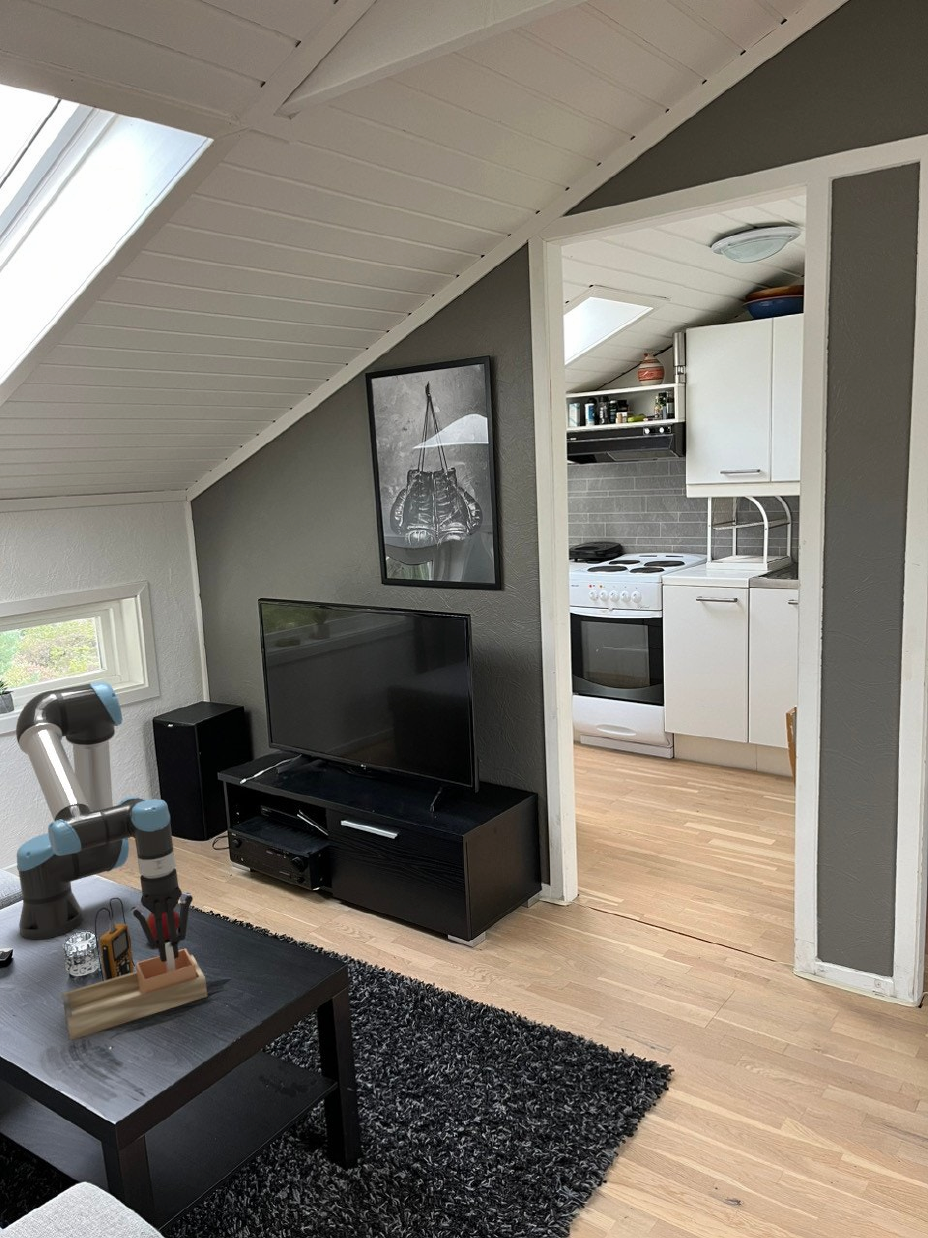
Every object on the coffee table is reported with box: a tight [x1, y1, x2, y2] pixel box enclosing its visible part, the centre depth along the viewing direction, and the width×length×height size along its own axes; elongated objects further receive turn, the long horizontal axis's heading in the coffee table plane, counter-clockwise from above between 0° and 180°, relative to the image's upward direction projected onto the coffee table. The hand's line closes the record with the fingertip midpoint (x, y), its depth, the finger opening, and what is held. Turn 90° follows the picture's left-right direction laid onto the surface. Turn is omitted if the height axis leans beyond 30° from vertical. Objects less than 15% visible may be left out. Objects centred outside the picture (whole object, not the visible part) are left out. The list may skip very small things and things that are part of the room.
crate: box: [135, 947, 197, 994], centre depth 211 cm, size 9×11×6 cm
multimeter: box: [94, 897, 136, 982], centre depth 215 cm, size 15×10×20 cm
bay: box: [61, 954, 208, 1041], centre depth 208 cm, size 12×28×4 cm, turn 119°
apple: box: [146, 910, 180, 942], centre depth 236 cm, size 8×8×8 cm
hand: (171, 972), depth 211 cm, fingers closed
